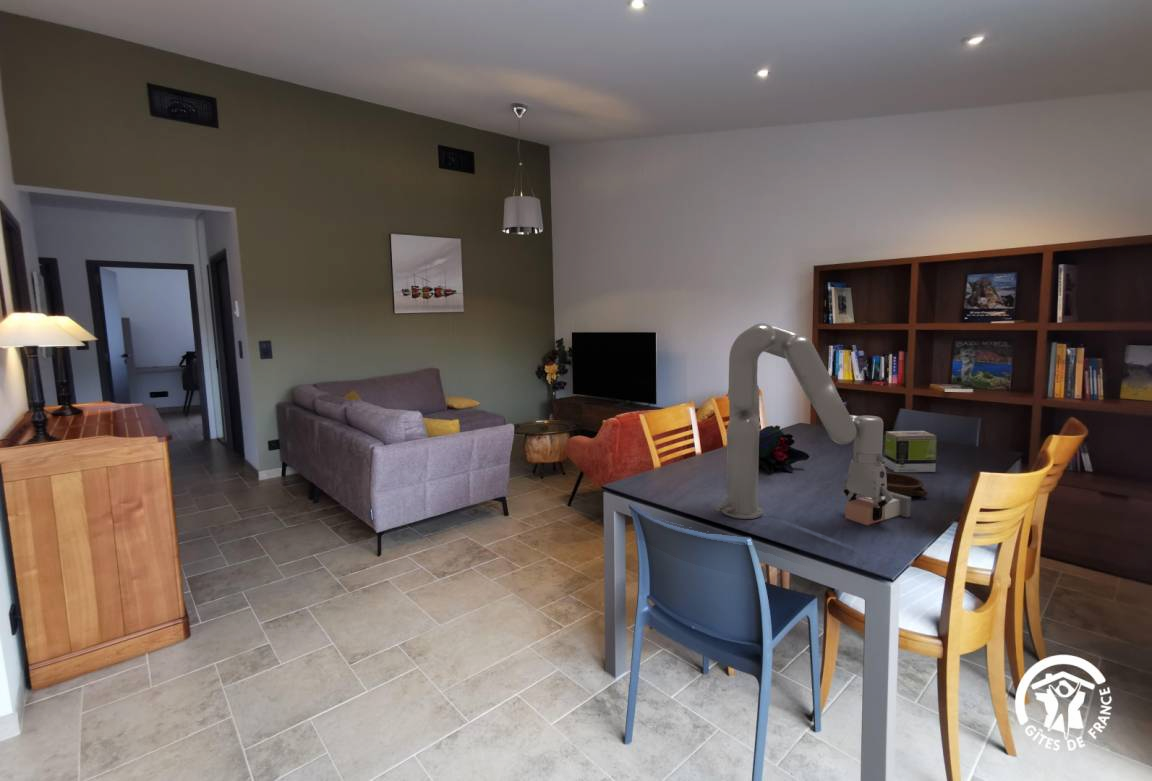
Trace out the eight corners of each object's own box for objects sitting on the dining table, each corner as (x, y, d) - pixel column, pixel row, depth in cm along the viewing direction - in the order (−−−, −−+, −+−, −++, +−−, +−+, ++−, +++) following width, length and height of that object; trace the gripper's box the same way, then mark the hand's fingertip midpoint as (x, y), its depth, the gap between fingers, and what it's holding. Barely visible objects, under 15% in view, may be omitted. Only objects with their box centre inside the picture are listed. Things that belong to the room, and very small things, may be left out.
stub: (867, 525, 165) (867, 508, 165) (845, 518, 171) (846, 501, 171) (883, 519, 169) (884, 503, 168) (862, 513, 175) (862, 496, 174)
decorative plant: (768, 483, 241) (828, 482, 215) (721, 467, 231) (778, 463, 205) (774, 437, 247) (833, 430, 221) (729, 418, 237) (785, 409, 211)
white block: (892, 522, 167) (893, 502, 166) (855, 511, 177) (856, 492, 177) (916, 514, 173) (917, 495, 172) (879, 504, 183) (880, 486, 182)
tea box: (922, 466, 229) (924, 430, 227) (935, 473, 219) (938, 435, 217) (883, 466, 231) (885, 430, 229) (894, 473, 221) (896, 435, 219)
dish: (914, 506, 184) (915, 491, 184) (847, 490, 202) (848, 476, 201) (937, 494, 195) (938, 480, 194) (871, 480, 212) (872, 467, 211)
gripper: (904, 462, 162) (900, 522, 164) (848, 450, 177) (846, 505, 179) (887, 466, 158) (884, 527, 161) (832, 453, 173) (830, 509, 176)
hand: (864, 515), depth 170 cm, fingers closed on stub, 7 cm apart
